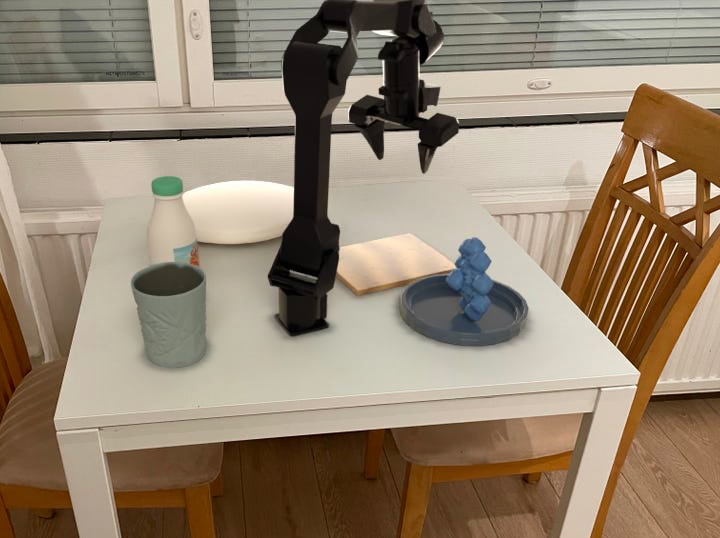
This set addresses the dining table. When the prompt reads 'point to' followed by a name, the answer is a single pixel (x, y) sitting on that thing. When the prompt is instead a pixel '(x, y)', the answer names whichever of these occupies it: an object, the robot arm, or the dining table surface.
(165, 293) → the green plant pot
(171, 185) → the milk bottle
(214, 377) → the dining table surface
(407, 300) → the round blue tray
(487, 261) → the grapes
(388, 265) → the bamboo board
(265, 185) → the plate
